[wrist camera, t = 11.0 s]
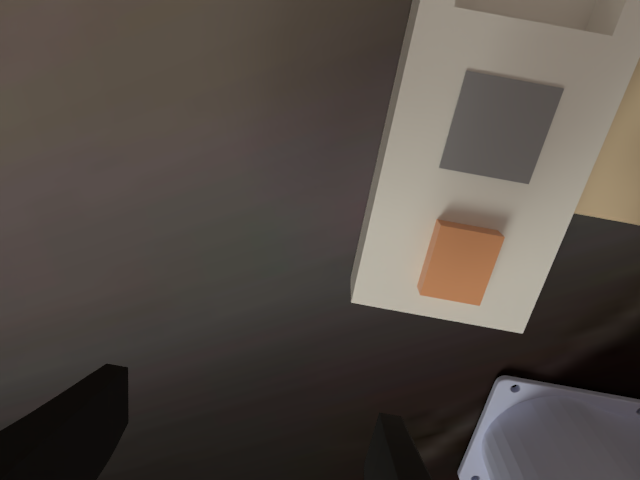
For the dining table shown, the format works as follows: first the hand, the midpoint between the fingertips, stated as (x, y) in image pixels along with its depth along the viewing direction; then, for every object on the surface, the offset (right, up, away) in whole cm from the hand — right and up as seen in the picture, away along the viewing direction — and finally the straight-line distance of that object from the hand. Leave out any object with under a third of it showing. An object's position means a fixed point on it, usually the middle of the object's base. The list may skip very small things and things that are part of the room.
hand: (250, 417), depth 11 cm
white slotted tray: (+9, +12, +5) cm, 16 cm away
